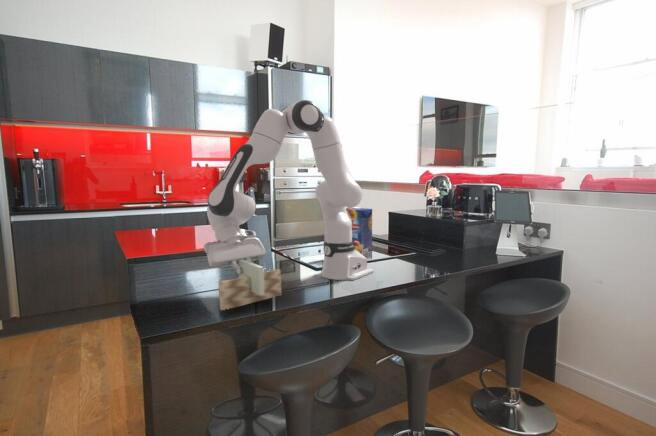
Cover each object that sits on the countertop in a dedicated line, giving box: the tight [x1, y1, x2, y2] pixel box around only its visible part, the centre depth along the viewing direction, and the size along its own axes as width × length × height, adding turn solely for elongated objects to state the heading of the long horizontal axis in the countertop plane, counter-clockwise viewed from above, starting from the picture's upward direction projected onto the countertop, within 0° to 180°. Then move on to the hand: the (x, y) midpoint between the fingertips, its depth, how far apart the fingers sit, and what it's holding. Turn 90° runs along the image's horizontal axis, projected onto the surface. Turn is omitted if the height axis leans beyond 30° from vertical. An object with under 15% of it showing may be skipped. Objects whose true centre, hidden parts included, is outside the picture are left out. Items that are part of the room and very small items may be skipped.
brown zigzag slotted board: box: [218, 268, 282, 311], centre depth 127 cm, size 22×2×9 cm, turn 130°
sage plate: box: [237, 259, 265, 296], centre depth 126 cm, size 2×14×9 cm, turn 40°
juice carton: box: [346, 206, 373, 261], centre depth 185 cm, size 12×8×24 cm, turn 42°
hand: (245, 272), depth 129 cm, fingers closed on sage plate, 2 cm apart
